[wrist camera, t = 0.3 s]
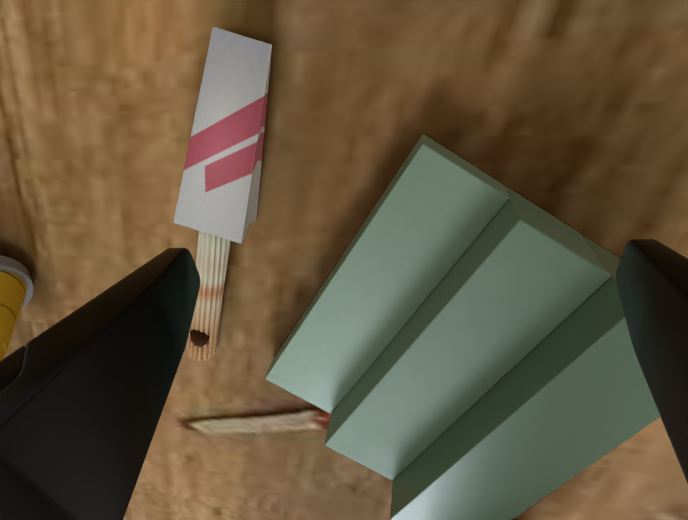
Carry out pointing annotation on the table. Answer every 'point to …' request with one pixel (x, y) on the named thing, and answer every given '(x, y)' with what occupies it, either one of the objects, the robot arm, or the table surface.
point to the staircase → (467, 346)
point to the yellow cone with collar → (12, 297)
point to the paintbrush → (223, 169)
